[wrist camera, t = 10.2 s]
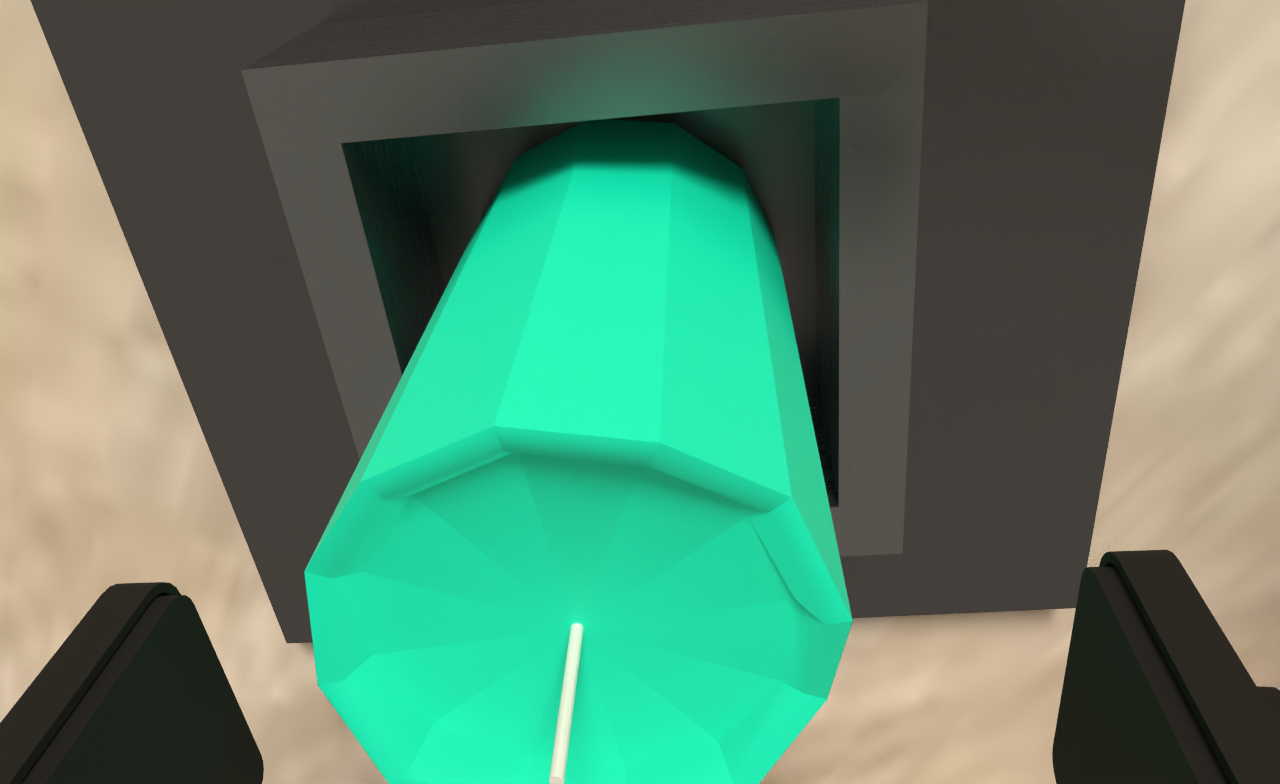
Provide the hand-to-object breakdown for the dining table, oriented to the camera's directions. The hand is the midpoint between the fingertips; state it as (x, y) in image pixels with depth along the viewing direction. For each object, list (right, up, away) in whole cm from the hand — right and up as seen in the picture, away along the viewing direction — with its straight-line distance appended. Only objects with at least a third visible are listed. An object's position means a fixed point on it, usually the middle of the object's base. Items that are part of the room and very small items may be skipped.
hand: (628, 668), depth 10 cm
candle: (0, +6, +9) cm, 11 cm away
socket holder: (0, +6, +10) cm, 12 cm away
